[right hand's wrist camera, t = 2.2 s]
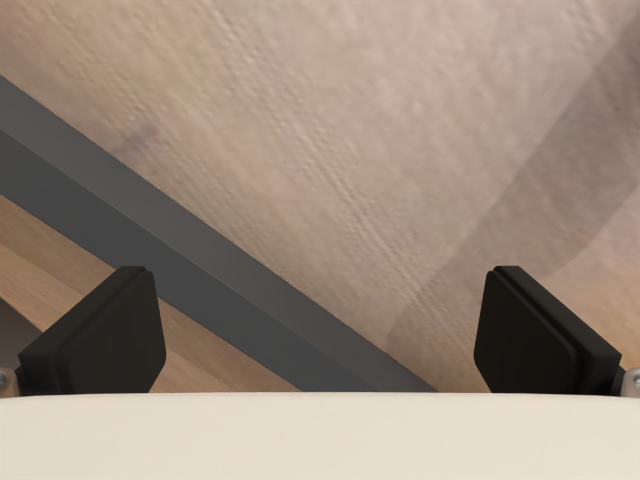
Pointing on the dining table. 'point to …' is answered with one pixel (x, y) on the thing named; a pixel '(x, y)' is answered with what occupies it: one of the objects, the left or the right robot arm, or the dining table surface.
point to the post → (181, 255)
